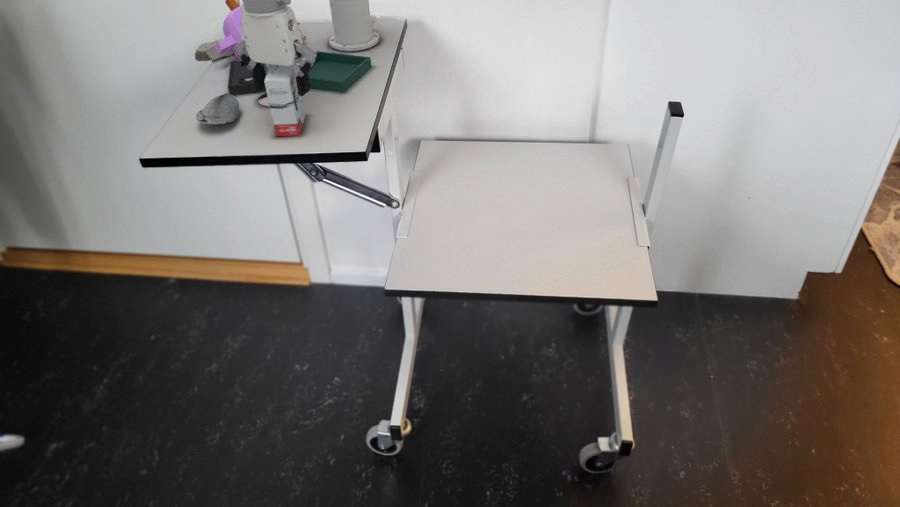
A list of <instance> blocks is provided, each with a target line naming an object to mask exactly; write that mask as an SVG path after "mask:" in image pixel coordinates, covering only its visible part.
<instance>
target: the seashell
mask: <svg viewBox="0 0 900 507" xmlns="http://www.w3.org/2000/svg"><path fill="white" fill-rule="evenodd" d="M239 112H240V101H239V100H238V98H236V97H235V96H234V94H233V95H231V94H230V93H224V94H220V95H217V96H215V97H213V98H212V99H210V100H209V101H208V102H207V103H206V105H205V106H204V107H203V108H202V109H201V110H199V111H198V112H196V114H195V119H196V120H197V122H199V123H202V124H206V125H225V124H226V123H232V122H235V121H236V120H237V118H238V117H239Z"/></svg>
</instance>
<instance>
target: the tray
mask: <svg viewBox="0 0 900 507" xmlns="http://www.w3.org/2000/svg"><path fill="white" fill-rule="evenodd" d="M315 52H316V54H317V56H316V59H315V62H314V65H313V67H312V68H311V69H310V71H309V72H308V76H309V81H310V90H311V89H313V90H319V91H328V92H333V93H334V92H335V93H340V94H341V93H343V94H344V93H345V92H346V91H347V90H348V89H350V88H351V87H352V86H353V85H354V84H356V82H357V81H359V79H361V78H362V77H363V76H364V75H366V73H367V72H368V71H369V70H370V69H371V68H372V60H371V56H364V55H354V54H345V53H338V52H330V51H319V50H317V51H315ZM304 61H305V62H306V59H305V60H304ZM298 66H299V67H300V65H299V64H298ZM300 68H301V67H300Z"/></svg>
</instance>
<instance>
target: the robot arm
mask: <svg viewBox="0 0 900 507" xmlns="http://www.w3.org/2000/svg"><path fill="white" fill-rule="evenodd" d="M328 2H329V9H330V14H331V21H332V22H331V23H332V27H333V34H332V35H331V36H330V38H329V39H328V43H329V45H330V47H331V48H332V49H334V50H335V51H340V52H358V51H364V50H368V49H371V48H372V47H374V46H376V45H377V44H378V43H379V42H380V36H379V33H378V32H376V31H375V30H373V25H374V24H375V23H377V21H378V19H377V16H375V15H373V14H372V15H371V11H370V10H371V9H370V1H369V0H328ZM291 3H292V0H242V5H244V9H243V29H244V36H245V40H243V41H241V42H240V43H238V44H236V45H235V49H236V51H237V52H238V54H239V55H240V56H241V60H240V61H243V62H244V63H245V64H246V65H247V67H248V69H249V70H250V71H252V75H253V79H254V83H255V87H256V90H261V89H262V88H264V87H265V83H264V81H265V78H266V75H267V72H266V73H265V69H264V66H263V65H260V64H261V63H264V64H270V65H271V64H272V65H280V66H290V67H291V68H292V69H293V70H294V71H295V72H296V74H297V75H298V76H296V83H297V88H298V93H299V95H300V96H301V97H304V96H305V95H306V94H308V93H309V92H310V91H311V88H310V81H309V76H308V72H309V71H310V69H311V68H312V67H313V65H314V62H315V59H316V56H317V54H316V52H317V51H315V50H313V49H311V48H310V47H309V46H307V45H305V44H304V41H302V38H303V37H302V33H301V30H300V26H298V23H297V22H298V21H297V18H296V16H295V12H294V10H293V8H292V7H291V6H289V5H291ZM246 47H247V50H246ZM247 51H248V52H247ZM304 58H305V60H306V62H305V60H304ZM299 65H300V67H301V68H300V67H299Z"/></svg>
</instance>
